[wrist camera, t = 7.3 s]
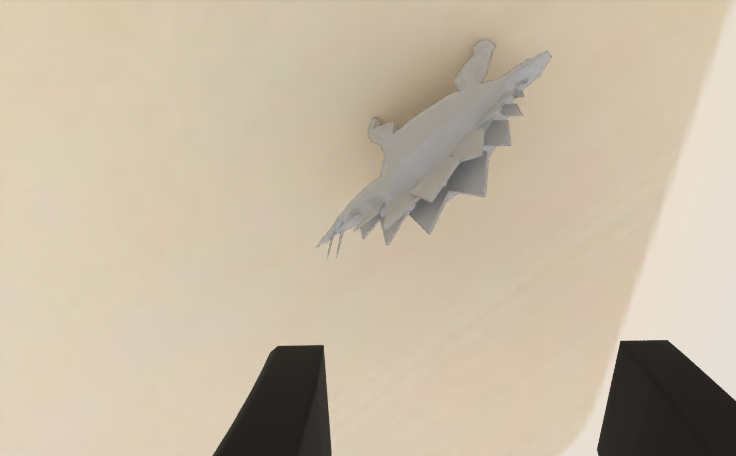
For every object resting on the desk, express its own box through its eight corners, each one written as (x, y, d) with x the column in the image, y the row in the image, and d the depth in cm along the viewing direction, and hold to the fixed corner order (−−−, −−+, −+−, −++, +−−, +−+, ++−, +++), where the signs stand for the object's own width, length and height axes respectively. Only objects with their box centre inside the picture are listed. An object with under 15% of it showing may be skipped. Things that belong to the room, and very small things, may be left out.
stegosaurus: (291, 180, 18) (269, 282, 14) (505, -4, 16) (551, 57, 12) (355, 238, 19) (350, 350, 15) (566, 74, 17) (628, 155, 13)
